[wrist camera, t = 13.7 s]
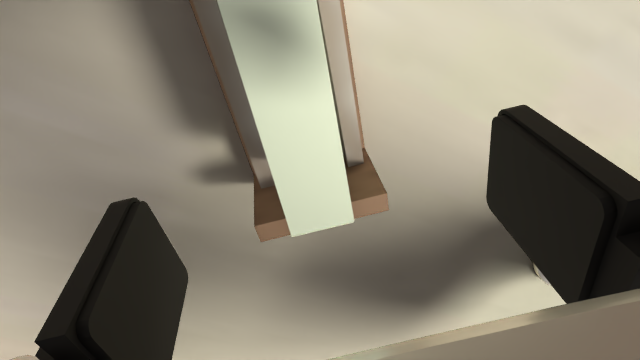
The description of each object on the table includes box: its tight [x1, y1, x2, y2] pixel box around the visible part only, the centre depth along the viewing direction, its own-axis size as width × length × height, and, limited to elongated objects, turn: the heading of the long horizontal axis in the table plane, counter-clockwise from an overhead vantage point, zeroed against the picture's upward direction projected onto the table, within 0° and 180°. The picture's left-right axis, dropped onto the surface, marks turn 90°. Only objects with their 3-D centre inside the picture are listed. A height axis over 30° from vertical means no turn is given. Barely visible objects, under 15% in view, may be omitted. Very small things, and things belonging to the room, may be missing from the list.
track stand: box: [189, 0, 389, 242], centre depth 22 cm, size 9×23×7 cm, turn 11°
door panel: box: [217, 0, 354, 237], centre depth 20 cm, size 4×16×10 cm, turn 10°
